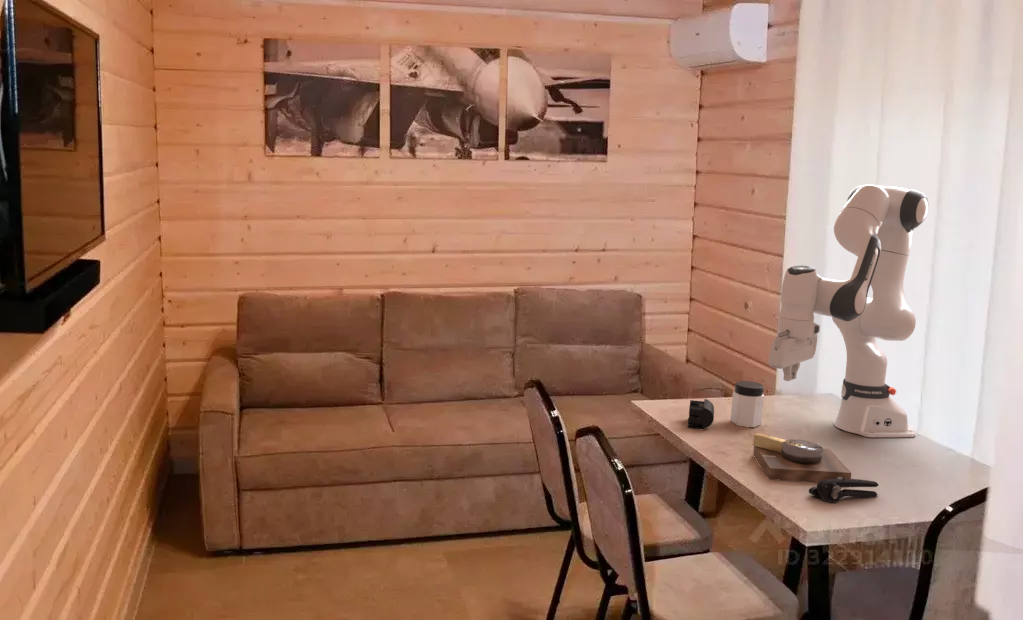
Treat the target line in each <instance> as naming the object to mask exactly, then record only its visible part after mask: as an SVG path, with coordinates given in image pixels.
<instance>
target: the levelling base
mask: <svg viewBox="0 0 1023 620" xmlns="http://www.w3.org/2000/svg"><path fill="white" fill-rule="evenodd" d="M753 455H754V456H755V457H754V456H753ZM752 456H753V457H754V459H755V458H756V459H757V460H756V459H755V460H756V462H757V461H758V462H757V464H758V463H759V464H760V465H759V464H758V465H759V467H760V466H761V467H760V468H761V470H762V469H763V470H762V471H763V473H764V475H765V476H766V478H767V477H768V478H767V479H768V480H770V481H784V480H790V481H789V482H801V481H806V482H805V483H818V482H819V481H821V480H827V479H837V478H838V477H842V478H843V479H852V471H851V470H849V468H848V467H847V466H846V465H845V464H844V463H843V461H841V459H839V457H838V456H837V455H836V454H835V452H833V450H832V449H831V448H823V452H822V460H821V462H819V463H815V464H803V463H797V462H793V461H789V460H787V459H785V458H783V457H782V456H781V453H779V452H775V451H772V450H768V449H765V448H761V447H757V446H754V445H753V452H752Z"/></svg>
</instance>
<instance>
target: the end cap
mask: <svg viewBox="0 0 1023 620" xmlns="http://www.w3.org/2000/svg"><path fill="white" fill-rule="evenodd" d="M688 408H689V409H688V420H687V421H688V422H687V429H691V428H692V429H693V430H700V429H704V430H706V429H708V428H710V426H711V425H713V423H714V420H715V406H714V404H713V402H712V401H710V400H709V399H706V398H704V400H703V401H702V400H693V399H691V400H690V401H689V407H688Z"/></svg>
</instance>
